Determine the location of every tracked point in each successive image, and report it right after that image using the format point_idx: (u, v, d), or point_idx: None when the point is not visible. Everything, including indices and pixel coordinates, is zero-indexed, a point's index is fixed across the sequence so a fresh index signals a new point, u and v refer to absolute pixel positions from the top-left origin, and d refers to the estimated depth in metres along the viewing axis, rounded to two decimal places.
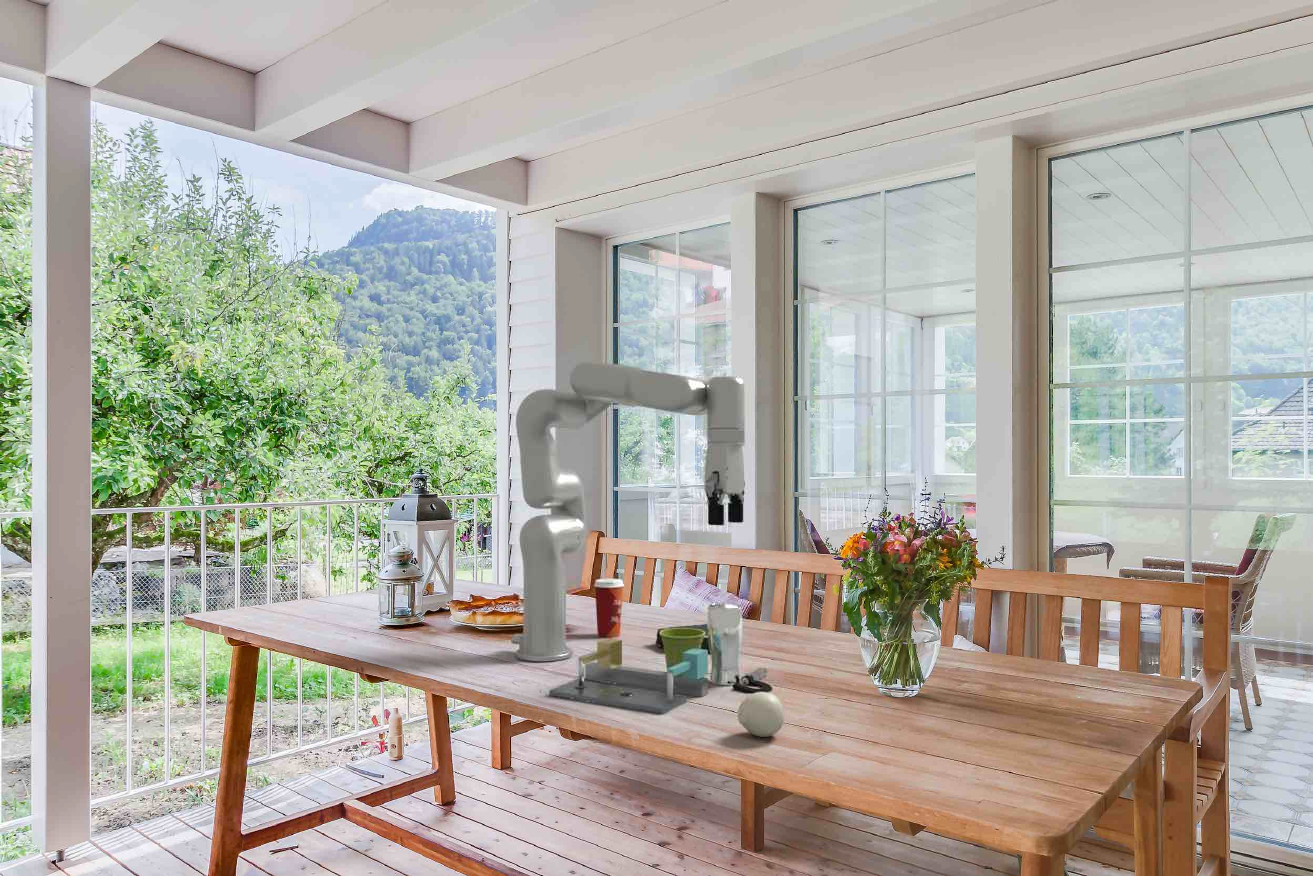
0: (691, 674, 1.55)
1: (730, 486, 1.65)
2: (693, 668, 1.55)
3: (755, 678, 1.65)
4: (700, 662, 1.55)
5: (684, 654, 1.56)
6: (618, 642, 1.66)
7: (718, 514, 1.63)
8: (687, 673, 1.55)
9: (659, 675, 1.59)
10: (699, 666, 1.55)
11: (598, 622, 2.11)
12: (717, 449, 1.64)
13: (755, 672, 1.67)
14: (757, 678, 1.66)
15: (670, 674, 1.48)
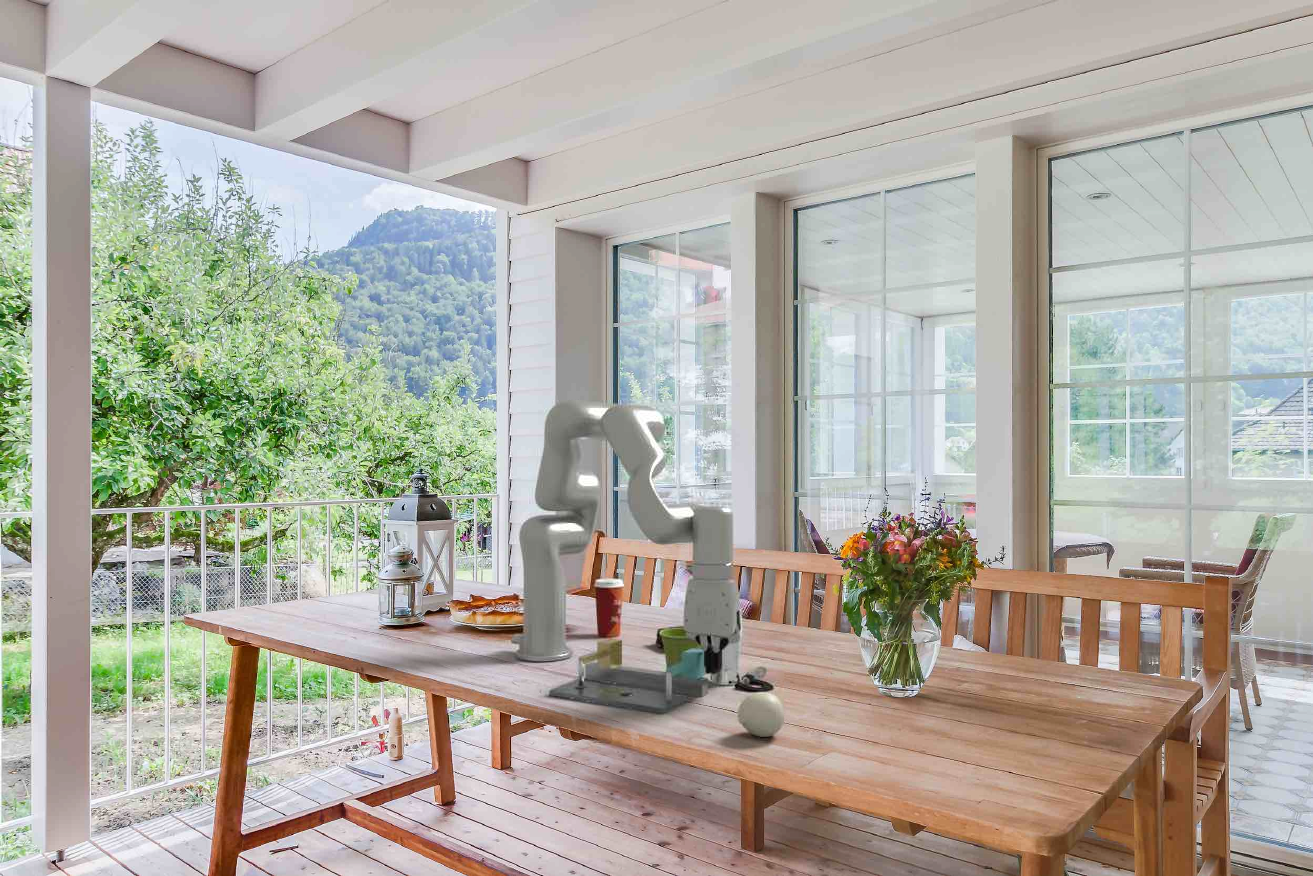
0: (690, 674, 1.55)
1: None
2: (692, 667, 1.55)
3: (755, 677, 1.66)
4: (698, 661, 1.55)
5: (683, 654, 1.56)
6: (618, 642, 1.66)
7: None
8: (686, 673, 1.55)
9: (659, 675, 1.59)
10: (698, 666, 1.55)
11: (598, 622, 2.11)
12: (735, 587, 1.54)
13: (755, 671, 1.68)
14: (757, 677, 1.67)
15: (668, 674, 1.48)
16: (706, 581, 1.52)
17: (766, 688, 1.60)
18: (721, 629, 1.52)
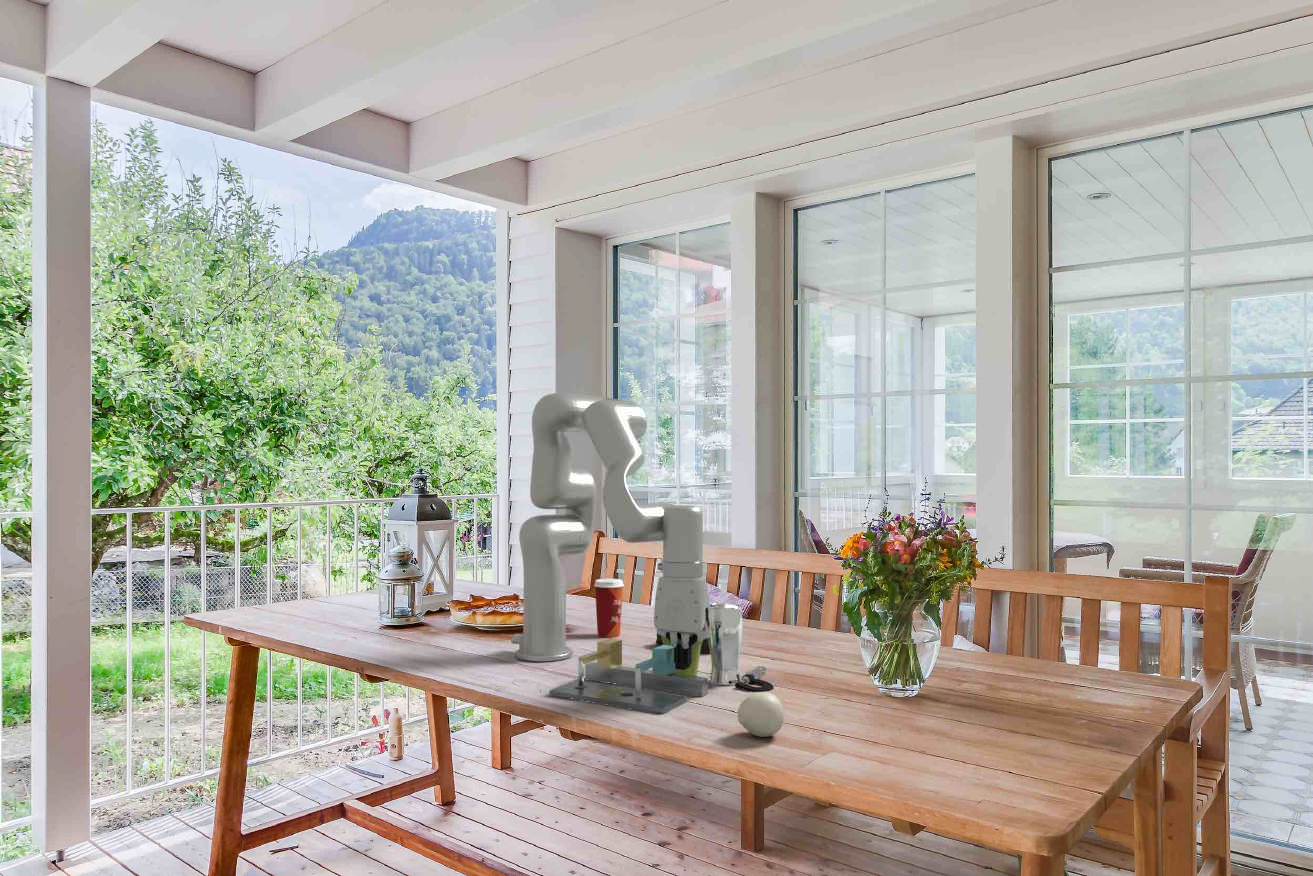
0: (660, 670, 1.58)
1: None
2: (662, 663, 1.58)
3: (755, 677, 1.67)
4: (668, 658, 1.58)
5: (653, 650, 1.59)
6: (618, 642, 1.66)
7: None
8: (656, 669, 1.58)
9: (659, 675, 1.59)
10: (668, 662, 1.58)
11: (598, 622, 2.11)
12: (704, 584, 1.57)
13: (755, 671, 1.68)
14: (757, 676, 1.67)
15: (638, 670, 1.51)
16: (675, 579, 1.55)
17: (766, 688, 1.60)
18: (690, 626, 1.55)
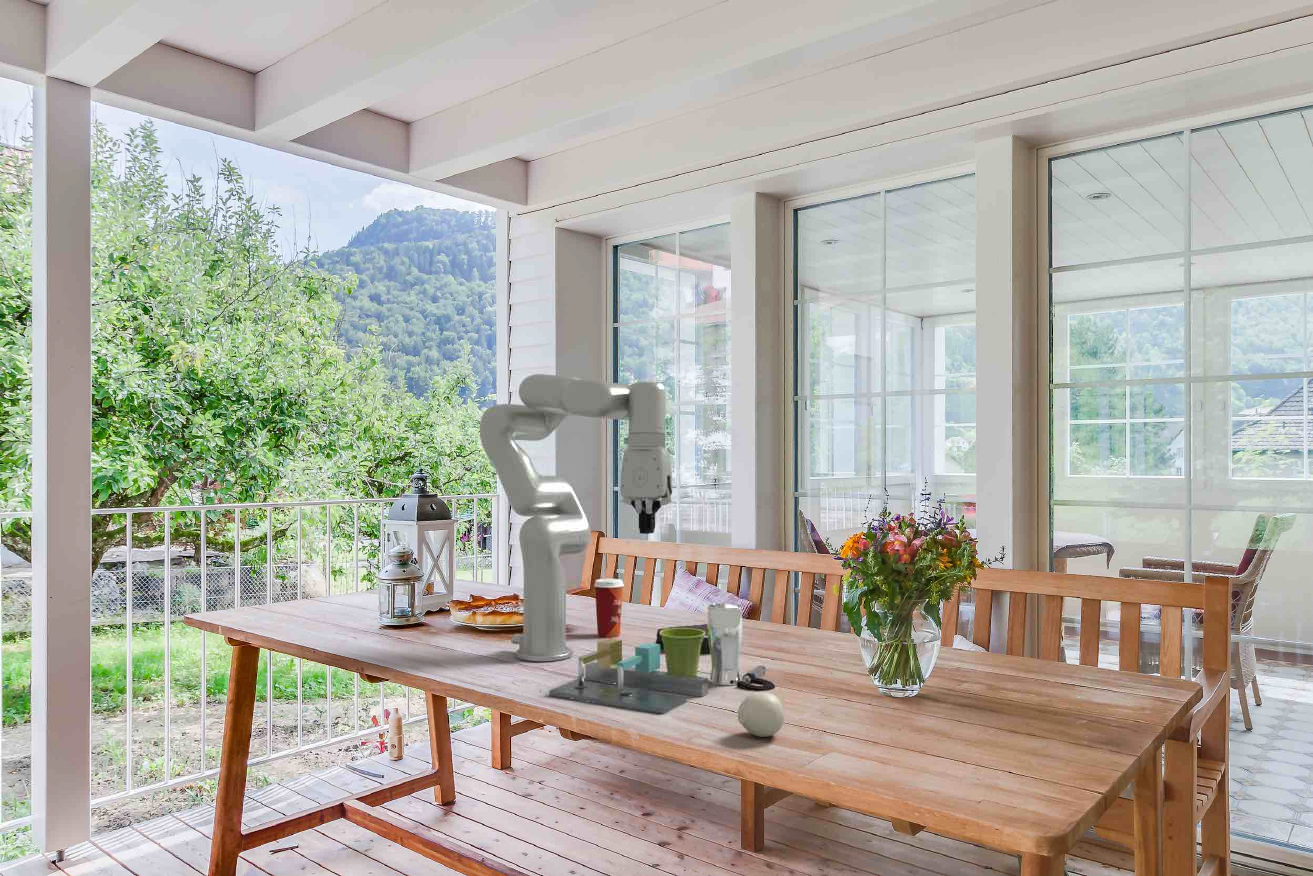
0: (643, 667, 1.60)
1: None
2: (644, 661, 1.60)
3: (756, 676, 1.67)
4: (651, 655, 1.60)
5: (636, 648, 1.61)
6: (618, 642, 1.66)
7: None
8: (639, 667, 1.60)
9: (659, 675, 1.59)
10: (651, 660, 1.60)
11: (598, 622, 2.11)
12: (667, 454, 1.68)
13: (756, 670, 1.69)
14: (758, 676, 1.68)
15: (620, 667, 1.53)
16: (639, 448, 1.67)
17: (768, 687, 1.61)
18: (653, 491, 1.66)
